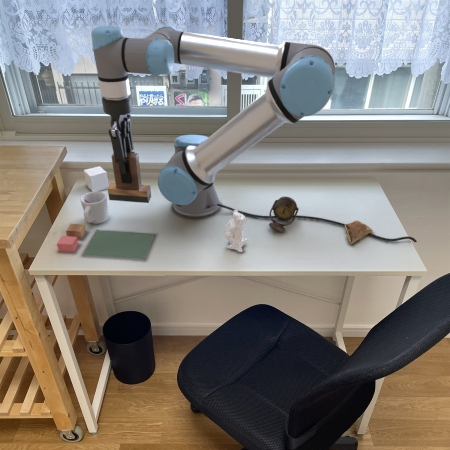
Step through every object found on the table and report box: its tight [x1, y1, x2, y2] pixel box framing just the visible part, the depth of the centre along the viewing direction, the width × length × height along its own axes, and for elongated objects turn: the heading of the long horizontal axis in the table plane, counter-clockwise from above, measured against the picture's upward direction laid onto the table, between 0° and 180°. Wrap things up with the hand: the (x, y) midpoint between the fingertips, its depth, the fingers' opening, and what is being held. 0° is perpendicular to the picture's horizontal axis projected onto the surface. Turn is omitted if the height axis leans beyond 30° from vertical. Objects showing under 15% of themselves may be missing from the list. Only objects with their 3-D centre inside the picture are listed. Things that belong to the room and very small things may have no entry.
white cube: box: [83, 165, 110, 192], centre depth 155 cm, size 6×6×6 cm
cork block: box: [65, 223, 87, 240], centre depth 132 cm, size 4×4×3 cm
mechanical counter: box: [268, 196, 300, 233], centre depth 137 cm, size 7×13×10 cm
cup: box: [79, 191, 109, 225], centre depth 136 cm, size 11×8×8 cm
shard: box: [344, 220, 373, 245], centre depth 134 cm, size 11×8×2 cm
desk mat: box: [82, 229, 156, 260], centre depth 129 cm, size 18×13×1 cm
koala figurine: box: [223, 209, 248, 253], centre depth 125 cm, size 8×7×12 cm
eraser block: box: [56, 235, 80, 253], centre depth 127 cm, size 4×4×3 cm
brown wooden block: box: [107, 152, 152, 204], centre depth 129 cm, size 12×4×14 cm, turn 84°
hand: (128, 179), depth 130 cm, fingers closed on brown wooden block, 3 cm apart
